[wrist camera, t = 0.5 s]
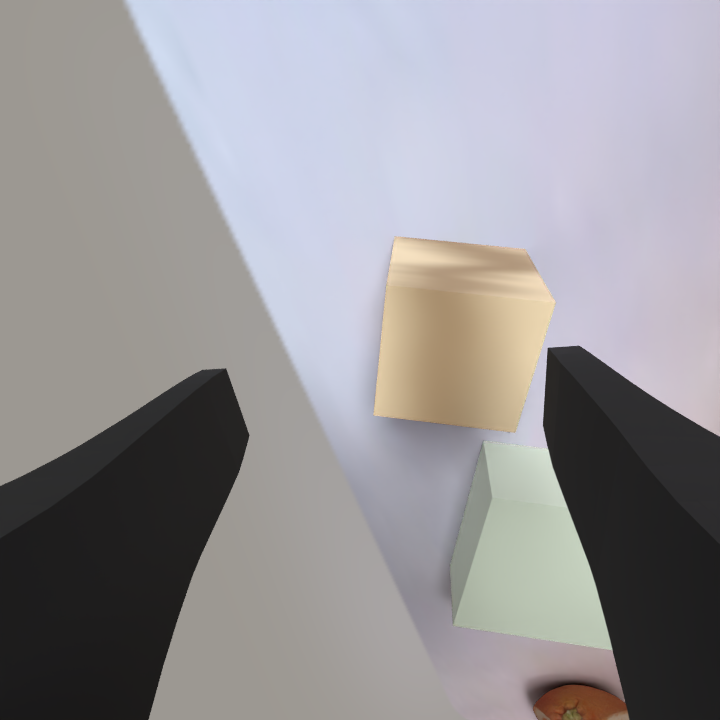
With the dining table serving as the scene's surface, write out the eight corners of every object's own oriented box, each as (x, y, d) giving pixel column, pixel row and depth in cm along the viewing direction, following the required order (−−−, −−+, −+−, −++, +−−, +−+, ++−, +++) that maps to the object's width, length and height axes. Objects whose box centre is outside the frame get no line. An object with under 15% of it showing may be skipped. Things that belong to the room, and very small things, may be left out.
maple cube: (524, 248, 18) (555, 302, 14) (496, 358, 21) (515, 432, 16) (395, 235, 18) (386, 285, 14) (383, 345, 21) (373, 415, 17)
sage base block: (691, 461, 23) (737, 530, 19) (617, 584, 28) (644, 655, 25) (482, 435, 23) (492, 497, 20) (449, 560, 29) (453, 626, 25)
